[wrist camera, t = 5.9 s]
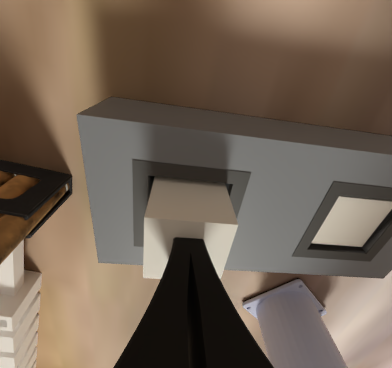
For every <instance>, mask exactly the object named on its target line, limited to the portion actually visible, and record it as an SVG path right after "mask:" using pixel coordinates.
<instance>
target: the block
mask: <svg viewBox="0 0 392 368" xmlns="http://www.w3.org/2000/svg"><path fill="white" fill-rule="evenodd" d="M77 121H78V128H79V135H80V141H81V148H82V155H83V161H84V168H85V175H86V182H87V188H88V195H89V202H90V209H91V215H92V222H93V229H94V236H95V242H96V249H97V256H98V263H112V264H130V265H143V253H144V216H145V212H146V208H147V205H148V201H149V197H150V193H151V189H152V185H153V182H154V178H155V176H158V177H168V178H178V179H188V180H198V181H207V182H217V183H225V184H226V188H227V191H228V194H229V197H230V200H231V203H232V206H233V210H234V213H235V216H236V219H237V222H238V228H237V231H236V234H235V237H234V240H233V243H232V246H231V249H230V252H229V255H228V258H227V261H226V264H225V267H224V270H239V271H257V272H275V273H293V274H311V275H329V276H347V277H366V278H384V277H385V276H386V275H387V274H388V273H389V272H390V271H391V270H392V209H391V211H390V212H389V213H388V214H387V216H386V217H385V218H384V219H383V221H382V222H381V223H380V225H379V226H378V227H377V228H376V230H375V231H374V232H373V233H372V235H371V236H370V237H369V239H368V240H367V241H366V242H365V244H364V245H363V246H362V247H357V246H343V245H329V244H315V243H311V242H312V241H313V239H314V237H315V236H316V234H317V232H318V231H319V229H320V227H321V226H322V224H323V222H324V221H325V219H326V217H327V216H328V214H329V212H330V211H331V209H332V207H333V206H334V204H335V202H336V201H337V199H338V197H339V196H340V195H345V196H355V197H364V198H374V199H384V200H392V136H388V135H381V134H374V133H367V132H360V131H353V130H345V129H338V128H331V127H324V126H317V125H310V124H303V123H295V122H288V121H281V120H274V119H267V118H260V117H253V116H245V115H238V114H231V113H224V112H217V111H210V110H203V109H196V108H188V107H181V106H174V105H167V104H160V103H153V102H146V101H138V100H131V99H124V98H117V97H110V98H108V99H106V100H104V101H102V102H100V103H98V104H96V105H94V106H92V107H90V108H88V109H86V110H84V111H82V112H80V113H78V114H77Z"/></svg>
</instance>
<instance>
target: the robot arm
mask: <svg viewBox="0 0 392 368" xmlns="http://www.w3.org/2000/svg"><path fill="white" fill-rule="evenodd" d="M242 306H243V308H244V309H246V310H247V311H248V312H249V313H251V314H252V315H253V316H254V317H255V318H257V319H258V322H259V325H260V329H261V333H262V336H263V340H264V343H265V347H266V351H267V354H268V358H269V360H268V358H267V357H266V356H265V354H264V353H263V351H262V350H261V349H260V347H259V346H258V344H257V343H256V341H255V339H254V338H253V336H252V335H251V333H250V332H249V330H248V329H247V327H246V325H245V324H244V322H243V321H242V319H241V317H240V316H239V314H238V312H237V311H236V309H235V307H234V305H233V303H232V302H231V300H230V298H229V296H228V294H227V292H226V290H225V289H224V287H223V285H222V282H221V280H220V278H219V276H218V274H217V272H216V270H215V268H214V265H213V263H212V261H211V258H210V256H209V253H208V251H207V248H206V245H205V242H204V240H203V239H197V238H182V237H175V238H174V239H173V245H172V249H171V253H170V256H169V259H168V262H167V265H166V268H165V270H164V273H163V275H162V278H161V280H160V283H159V285H158V287H157V289H156V291H155V293H154V296H153V298H152V300H151V302H150V304H149V306H148V308H147V310H146V312H145V314H144V316H143V318H142V319H141V321H140V323H139V325H138V327H137V329H136V330H135V332H134V334H133V336H132V337H131V339H130V341H129V343H128V344H127V346H126V348H125V349H124V351H123V353H122V355H121V356H120V358H119V359H118V361H117V363H116V364H115V366H114V368H348V367H347V365H346V364H345V362H344V360H343V358H342V356H341V354H340V352H339V350H338V348H337V346H336V344H335V343H334V341H333V339H332V337H331V335H330V333H329V331H328V329H327V327H326V325H325V323H324V322H323V320H322V318H321V316H323V315H325V314H326V313H327V312H326V310H325V309H324V307H323V306H322V305H321V304H320V302H319V301H318V300H317V299H316V297H315V296H314V295H313V294H312V292H311V291H310V290H309V289H308V287H307V286H306V285H305V284H304V282H303V281H302V280H301V279H296V280H294V281H291V282H289V283H287V284H284V285H282V286H280V287H277V288H275V289H273V290H270V291H268V292H266V293H263V294H261V295H259V296H257V297H254V298H252V299H250V300H247V301H245V302H243V303H242Z"/></svg>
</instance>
